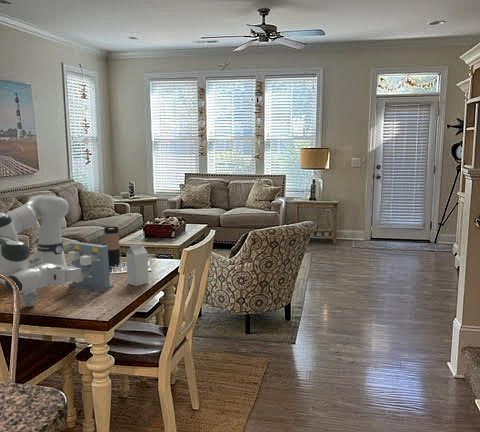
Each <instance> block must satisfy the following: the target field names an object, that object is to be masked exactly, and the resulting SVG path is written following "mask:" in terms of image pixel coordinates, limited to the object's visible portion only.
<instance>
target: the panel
mask: <svg viewBox="0 0 480 432" xmlns="http://www.w3.org/2000/svg"><path fill="white" fill-rule="evenodd" d="M71 251H81V256H84V255H87V256H91V255H94V254H97V253H98V254H99V258H100V259H99V260H95V261H92V262H91V264H90V265H87V266H85V265H80V257H79V260H75V261H73V260H71V265H75V267H77V268H81V273H82V272H85V271H88V270H91V276H89V277H86V278H84V279H83V281H81V282H79V283H78V282H72V281H71V282H70V283H69V282H68V286H69V287H75V288H80V289H85V290H90V291H96V292H104V291H107V290H109V289H112V288H114V287H115V285H114V284H112V283H110V281H111V280H110V265H109V260H108V246H105V244H97V243H95V244H94V243H88V242H81V241H80V242H79V241H73V242H70V252H71Z"/></svg>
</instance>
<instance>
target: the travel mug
mask: <svg viewBox="0 0 480 432" xmlns="http://www.w3.org/2000/svg"><path fill="white" fill-rule="evenodd" d="M103 231H104V234H103V235H104V245H105V246H108V260H109V266H115V265H114V264H118V265H119V263H120V261H121V259H120V258H121V257H120V256H121V255H120V253H121V252H120V251H121V249H120V235H119V227H117V226H106V227H104V229H103Z"/></svg>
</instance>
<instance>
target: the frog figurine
mask: <svg viewBox="0 0 480 432" xmlns="http://www.w3.org/2000/svg"><path fill="white" fill-rule="evenodd" d="M38 298H39V293H37V292H36V290H33V291H30V292H26V293H22V295H21V299H20V300H21V302H22V303H23V305H24V306H25V307H26V308H31V307H34V305H36V303H37V299H38Z"/></svg>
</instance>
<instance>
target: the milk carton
mask: <svg viewBox="0 0 480 432" xmlns="http://www.w3.org/2000/svg"><path fill="white" fill-rule="evenodd" d="M125 254H126V255H125V257H126V276H127V277H126V279H127V281H126V282H127V284H128V285H130V286H131V285H132V286H134V287H139V286H143V285H146V284H149V282H150V281H149V258H148V257H149V256H148V250H147V249H146V248H145V246H144V244H143V243H142V242H141V243H137V244H131V245H130V246H129V249H128V250H127V251H126V252H125Z"/></svg>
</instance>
